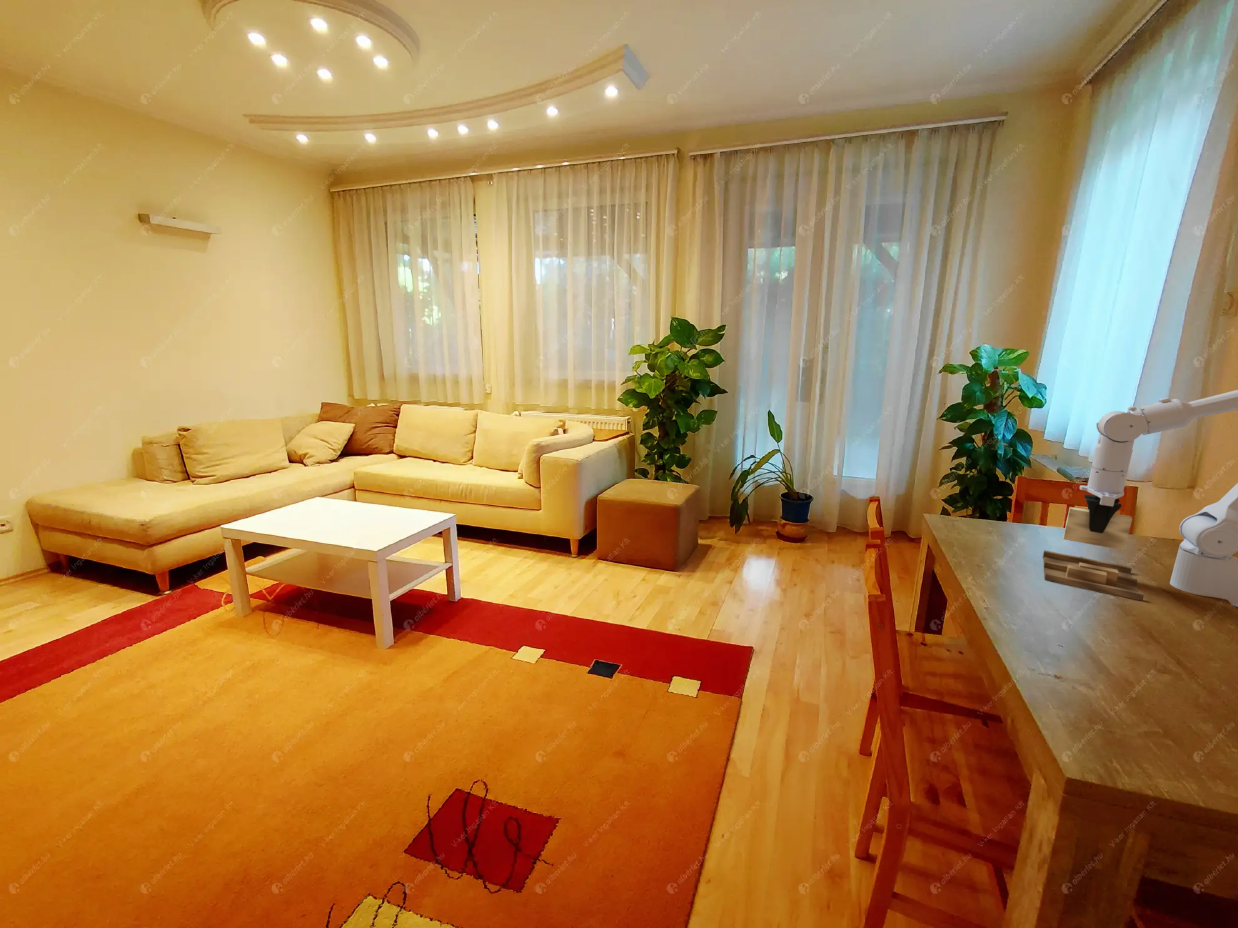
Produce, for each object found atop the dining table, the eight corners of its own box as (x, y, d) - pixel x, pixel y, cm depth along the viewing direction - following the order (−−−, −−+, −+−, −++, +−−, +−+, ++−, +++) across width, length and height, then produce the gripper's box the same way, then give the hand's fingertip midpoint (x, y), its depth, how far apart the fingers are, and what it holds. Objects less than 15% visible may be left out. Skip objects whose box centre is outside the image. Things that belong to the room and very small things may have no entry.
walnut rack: (1129, 575, 117) (1131, 566, 117) (1141, 604, 104) (1144, 594, 103) (1042, 558, 126) (1044, 550, 125) (1043, 582, 113) (1045, 574, 112)
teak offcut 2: (1114, 583, 111) (1117, 569, 111) (1115, 586, 110) (1118, 572, 109) (1076, 575, 115) (1079, 562, 114) (1077, 578, 113) (1080, 565, 112)
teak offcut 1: (1102, 585, 110) (1106, 572, 109) (1103, 589, 108) (1107, 575, 108) (1065, 577, 113) (1068, 564, 113) (1065, 581, 112) (1068, 567, 111)
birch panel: (1123, 547, 114) (1130, 516, 113) (1124, 550, 113) (1132, 518, 111) (1063, 536, 120) (1069, 506, 119) (1063, 539, 119) (1070, 508, 117)
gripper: (1081, 460, 121) (1069, 518, 124) (1087, 472, 109) (1073, 535, 112) (1124, 465, 117) (1110, 524, 120) (1134, 477, 105) (1118, 543, 108)
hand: (1095, 530), depth 116 cm, fingers closed on birch panel, 2 cm apart
